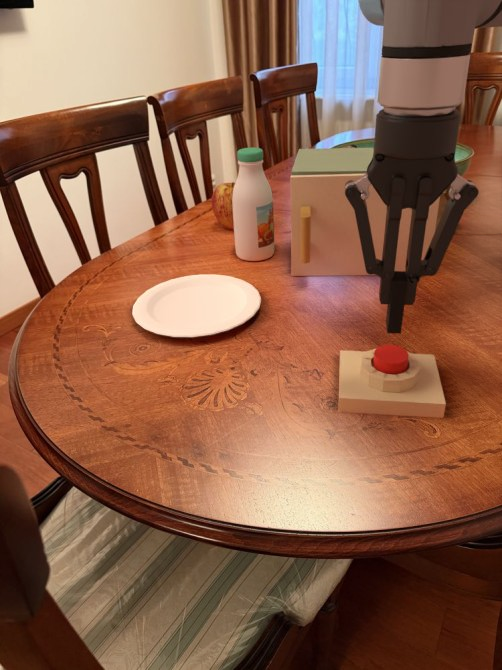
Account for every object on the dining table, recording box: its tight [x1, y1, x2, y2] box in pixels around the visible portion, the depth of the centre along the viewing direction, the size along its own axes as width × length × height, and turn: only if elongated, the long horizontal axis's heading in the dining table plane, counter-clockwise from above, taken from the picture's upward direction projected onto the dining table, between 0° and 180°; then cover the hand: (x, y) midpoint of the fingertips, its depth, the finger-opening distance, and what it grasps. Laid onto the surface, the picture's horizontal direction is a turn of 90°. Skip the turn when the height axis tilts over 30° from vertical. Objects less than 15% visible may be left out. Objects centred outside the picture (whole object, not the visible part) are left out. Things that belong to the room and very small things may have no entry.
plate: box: [131, 273, 262, 339], centre depth 84 cm, size 21×21×2 cm
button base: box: [337, 347, 447, 419], centre depth 64 cm, size 12×10×4 cm
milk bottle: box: [232, 147, 275, 262], centre depth 97 cm, size 8×8×20 cm
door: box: [289, 174, 440, 277], centre depth 86 cm, size 6×24×18 cm, turn 85°
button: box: [373, 344, 409, 375], centre depth 63 cm, size 4×4×2 cm
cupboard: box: [290, 147, 374, 176], centre depth 96 cm, size 16×24×18 cm, turn 81°
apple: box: [211, 181, 236, 231], centre depth 114 cm, size 9×9×10 cm
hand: (393, 327), depth 60 cm, fingers closed
